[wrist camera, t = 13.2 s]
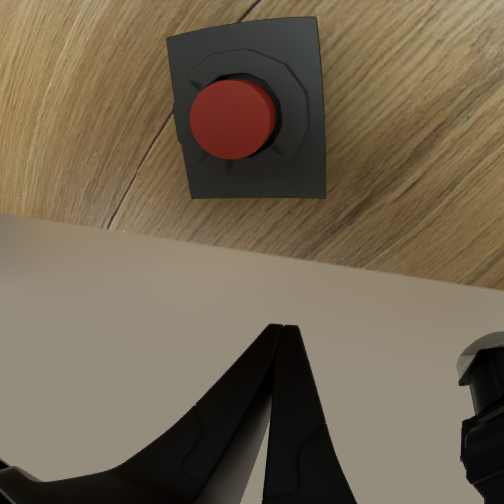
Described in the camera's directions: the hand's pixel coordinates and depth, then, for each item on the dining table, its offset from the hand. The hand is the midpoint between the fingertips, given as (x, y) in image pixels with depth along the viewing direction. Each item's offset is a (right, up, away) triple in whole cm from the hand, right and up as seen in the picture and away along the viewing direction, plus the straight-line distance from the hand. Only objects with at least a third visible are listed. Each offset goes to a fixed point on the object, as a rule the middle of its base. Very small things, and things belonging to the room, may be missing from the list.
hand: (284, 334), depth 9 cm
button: (-2, +9, +5) cm, 10 cm away
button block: (-1, +11, +8) cm, 13 cm away
